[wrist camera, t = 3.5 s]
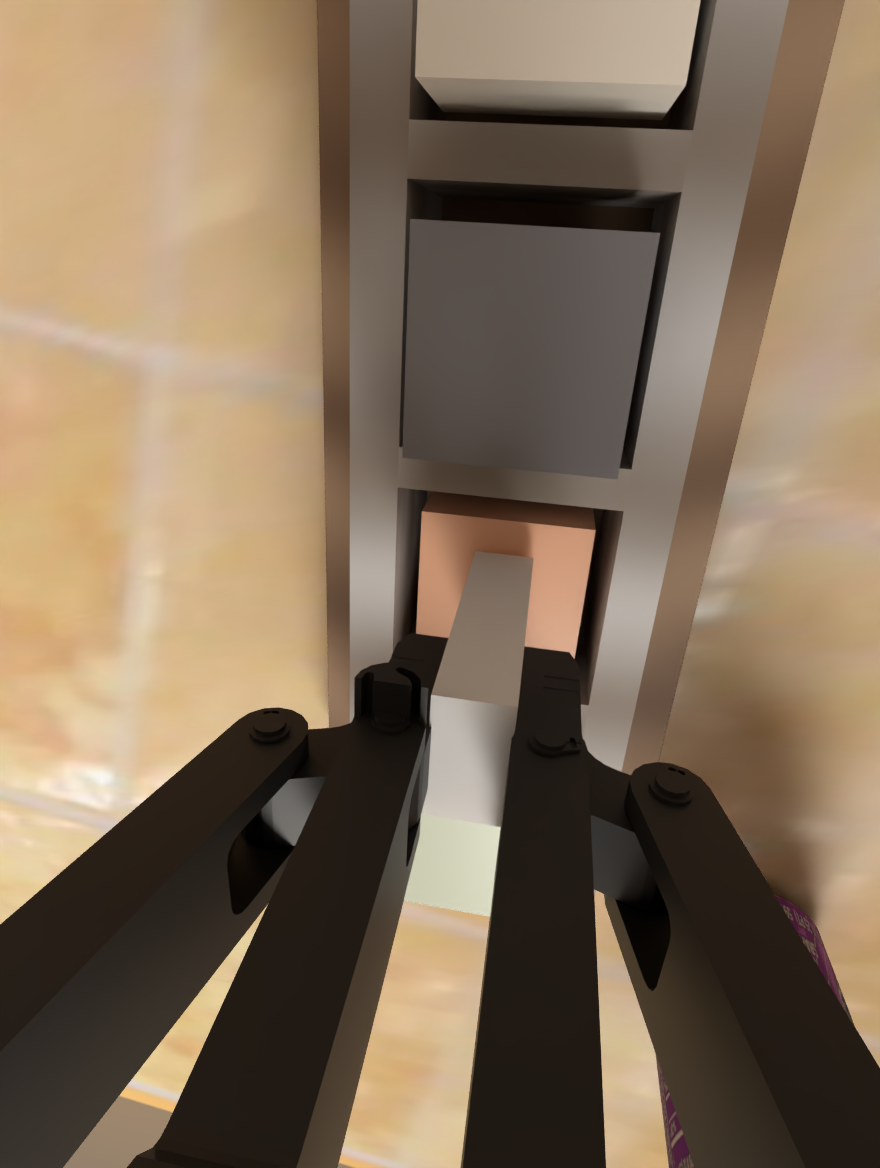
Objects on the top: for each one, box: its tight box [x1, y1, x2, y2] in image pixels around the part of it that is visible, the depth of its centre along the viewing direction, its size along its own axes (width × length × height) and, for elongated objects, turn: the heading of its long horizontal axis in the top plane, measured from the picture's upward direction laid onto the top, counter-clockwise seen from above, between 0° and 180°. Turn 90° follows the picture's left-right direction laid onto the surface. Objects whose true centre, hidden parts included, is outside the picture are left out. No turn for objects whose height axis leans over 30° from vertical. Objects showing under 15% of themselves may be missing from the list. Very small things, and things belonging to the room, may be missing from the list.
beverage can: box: [656, 895, 855, 1168], centre depth 24 cm, size 7×7×12 cm
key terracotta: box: [416, 491, 596, 659], centre depth 20 cm, size 4×4×3 cm
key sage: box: [404, 801, 501, 916], centre depth 20 cm, size 4×4×3 cm
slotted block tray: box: [317, 0, 845, 896], centre depth 19 cm, size 28×12×6 cm, turn 177°
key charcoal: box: [402, 219, 660, 479], centre depth 14 cm, size 4×4×3 cm
